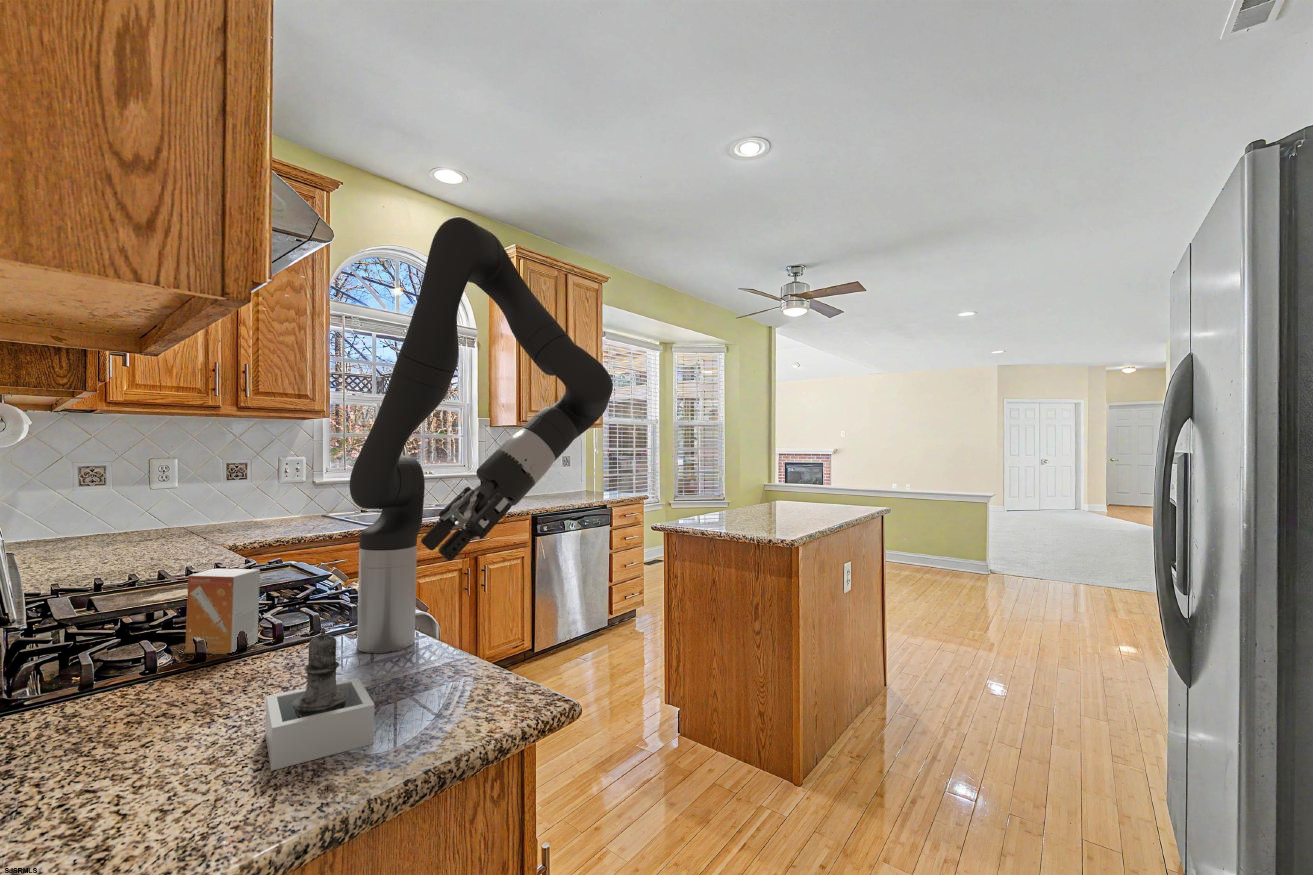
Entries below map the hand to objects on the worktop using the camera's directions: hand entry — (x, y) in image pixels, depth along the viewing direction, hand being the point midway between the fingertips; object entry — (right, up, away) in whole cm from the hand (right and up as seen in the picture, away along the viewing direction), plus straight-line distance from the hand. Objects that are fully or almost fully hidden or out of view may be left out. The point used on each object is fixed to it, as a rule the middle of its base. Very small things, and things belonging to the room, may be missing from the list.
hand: (434, 551), depth 79 cm
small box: (-44, -21, +21) cm, 53 cm away
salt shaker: (-10, -19, -9) cm, 24 cm away
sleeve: (-10, -20, -10) cm, 25 cm away
